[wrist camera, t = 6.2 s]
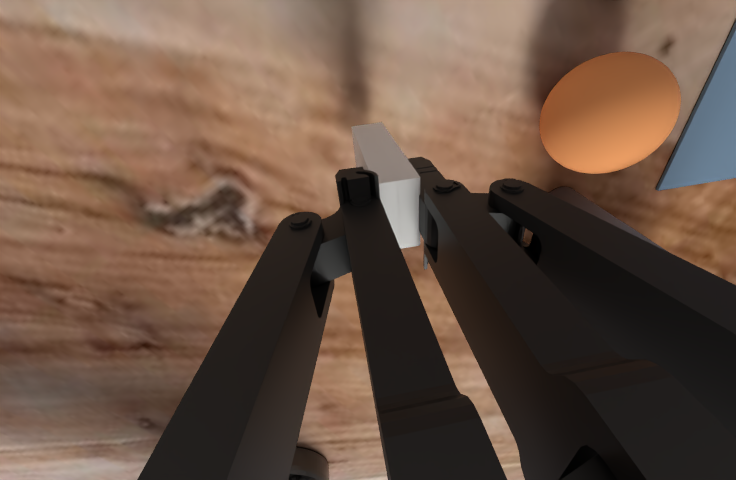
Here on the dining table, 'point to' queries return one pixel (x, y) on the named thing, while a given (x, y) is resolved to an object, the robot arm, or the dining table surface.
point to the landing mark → (708, 129)
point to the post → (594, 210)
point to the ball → (610, 112)
